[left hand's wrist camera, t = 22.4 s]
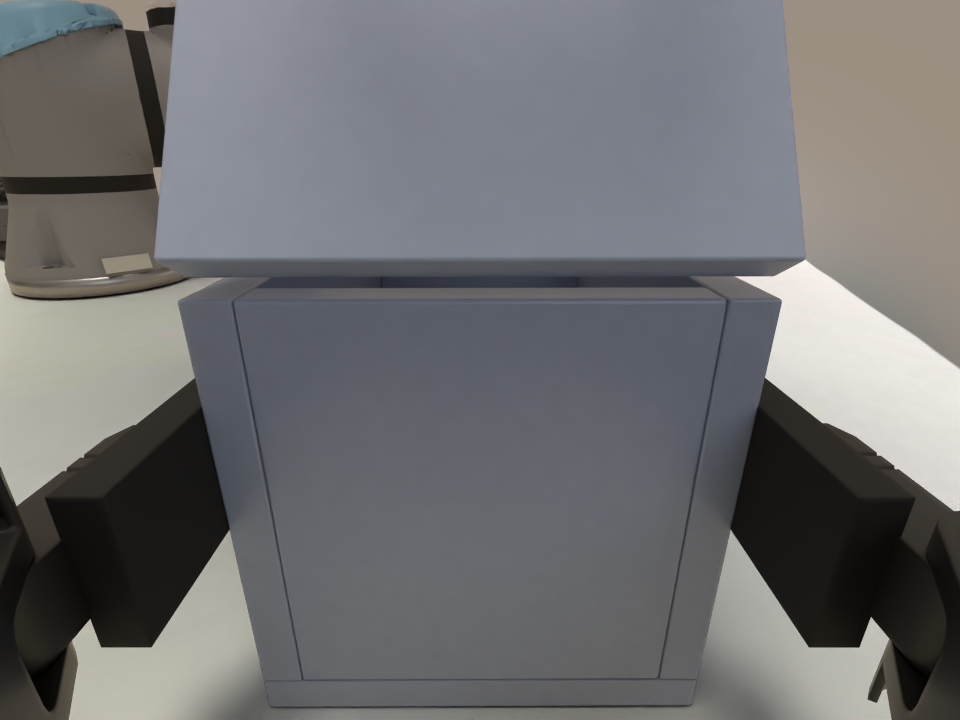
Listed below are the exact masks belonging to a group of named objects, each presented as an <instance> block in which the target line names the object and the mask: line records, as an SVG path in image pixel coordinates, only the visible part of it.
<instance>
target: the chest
mask: <svg viewBox="0 0 960 720" xmlns="http://www.w3.org/2000/svg"><path fill="white" fill-rule="evenodd" d="M781 303H782V301H781V299H779V298H777V297H775V296H773V295H771V294H769V293H767V292H765V291H763V290H761V289H759V288H757V287H755V286H753V285H751V284H749V283H747V282H745V281H742V280H740V279H738V278H736V277H734V276H611V277H225V278H223V279H221V280H219V281H217V282H215V283H213V284H211V285H209V286H207V287H205V288H203V289H201V290H199V291H197V292H195V293H193V294H191V295H189V296H187V297H185V298H183V299H181V300H179V302H178V305H179V309H180V314H181V318H182V323H183V327H184V331H185V336H186V340H187V345H188V349H189V353H190V358H191V362H192V366H193V371H194V375H195V380H196V384H197V388H198V393H199V397H200V402H201V406H202V410H203V415H204V419H205V424H206V428H207V432H208V437H209V441H210V445H211V450H212V454H213V459H214V463H215V467H216V472H217V476H218V481H219V485H220V489H221V494H222V498H223V503H224V507H225V511H226V516H227V520H228V525H229V529H230V533H231V538H232V542H233V546H234V551H235V555H236V560H237V564H238V568H239V573H240V577H241V582H242V586H243V590H244V595H245V599H246V604H247V608H248V612H249V617H250V621H251V625H252V630H253V634H254V639H255V643H256V647H257V652H258V656H259V661H260V665H261V669H262V674H263V678H264V680H265V681H264V682H265V687H266V691H267V696H268V700H269V705H270V706H271V707H330V706H579V705H691V704H692V699H693V695H694V690H695V686H696V682H697V679H696V678H697V677H698V672H699V668H700V664H701V659H702V655H703V650H704V646H705V641H706V637H707V632H708V628H709V624H710V619H711V615H712V610H713V606H714V601H715V597H716V592H717V588H718V584H719V579H720V575H721V570H722V566H723V561H724V557H725V552H726V548H727V544H728V539H729V535H730V530H731V525H732V521H733V516H734V512H735V507H736V503H737V499H738V494H739V490H740V485H741V481H742V476H743V472H744V468H745V463H746V459H747V454H748V450H749V445H750V441H751V437H752V432H753V428H754V423H755V419H756V414H757V410H758V406H759V401H760V397H761V392H762V388H763V383H764V379H765V375H766V370H767V366H768V361H769V357H770V352H771V348H772V343H773V339H774V334H775V330H776V326H777V321H778V317H779V312H780V308H781Z"/></svg>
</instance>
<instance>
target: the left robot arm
mask: <svg viewBox="0 0 960 720" xmlns="http://www.w3.org/2000/svg"><path fill="white" fill-rule="evenodd" d="M228 531H229V525H228V520H227V516H226V511H225V507H224V503H223V498H222V494H221V489H220V485H219V481H218V476H217V472H216V467H215V463H214V459H213V454H212V450H211V445H210V441H209V437H208V432H207V428H206V424H205V419H204V415H203V410H202V406H201V402H200V397H199V393H198V388H197V384H196V380H195V379H193V380H192V381H191V382H190V383H188V384H187V385H186V386H185V387H183V388H182V389H181V390H179V391H178V392H177V393H176V394H174V395H173V396H172V397H171V398H169V399H168V400H167V401H166V402H164V403H163V404H162V405H161V406H159V407H158V408H157V409H156V410H154V411H153V412H152V413H151V414H149V415H148V416H147V417H145V418H144V419H143V420H142V421H140V422H139V423H138V424H137V425H133V426H131V427H129V428H126V429H124V430H122V431H120V432H118V433H116V434H114V435H112V436H110V437H108V438H106V439H104V440H103V441H102V442H100V443H99V444H98V445H96V446H95V447H94V448H92V449H91V450H90V451H88V452H87V453H86V454H85V455H84V458H79V459H78V460H77V461H75V462H74V463H73V464H71V465H70V466H69V467H68V468H67V471H62V472H61V473H60V474H58V475H57V476H56V477H54V478H53V479H52V480H51V481H49V482H48V483H47V484H45V485H44V486H43V487H41V488H40V489H39V490H38V491H36V492H35V493H34V494H32V495H31V496H30V497H28V498H27V499H26V500H24V501H23V502H22V503H21V504H19V505H18V506H16V504H15V501H14V499H13V496H12V494H11V492H10V489H9V487H8V484H7V482H6V479H5V477H4V474H3V472H2V469H1V467H0V720H69V714H70V708H71V702H72V696H73V690H74V684H75V677H76V671H77V665H78V662H77V655H76V651H75V649H74V646H73V644H72V640H73V639H74V637H75V636H76V635H77V634H78V633H79V631H80V630H81V629H82V628H83V627H84V625H85V624H86V623H87V622H88V621H89V619H91V622H92V624H93V627H94V630H95V632H96V635H97V638H98V640H99V643H100V645H101V647H152V646H153V644H154V643H155V641H156V640H157V638H158V637H159V635H160V634H161V632H162V631H163V629H164V628H165V626H166V624H167V623H168V621H169V620H170V618H171V617H172V615H173V614H174V612H175V611H176V609H177V608H178V606H179V605H180V603H181V602H182V600H183V599H184V597H185V596H186V594H187V593H188V591H189V590H190V588H191V587H192V585H193V584H194V582H195V581H196V579H197V578H198V576H199V575H200V573H201V572H202V570H203V569H204V567H205V566H206V564H207V563H208V561H209V560H210V558H211V557H212V555H213V554H214V552H215V551H216V549H217V548H218V546H219V545H220V543H221V542H222V540H223V539H224V537H225V536H226V534H227V533H228ZM731 531H732V532H733V534H734V535H735V537H736V538H737V540H738V541H739V543H740V544H741V546H742V547H743V549H744V550H745V552H746V553H747V555H748V556H749V558H750V559H751V561H752V562H753V564H754V565H755V567H756V568H757V570H758V571H759V573H760V574H761V576H762V577H763V579H764V580H765V582H766V583H767V585H768V586H769V588H770V589H771V591H772V592H773V594H774V595H775V597H776V598H777V600H778V601H779V603H780V604H781V606H782V607H783V609H784V610H785V612H786V613H787V615H788V616H789V618H790V619H791V621H792V622H793V624H794V625H795V627H796V629H797V630H798V632H799V633H800V635H801V636H802V638H803V639H804V641H805V642H806V644H807V645H808V647H860V644H861V641H862V639H863V636H864V634H865V631H866V628H867V626H868V623H869V620H870V618H871V617H872V618H873V620H874V621H875V622H876V623H877V624H878V625H879V627H880V628H881V629H882V630H883V631H884V633H885V634H886V635H887V636H888V637H889V641H888V644H887V646H886V649H885V651H884V654H883V656H882V659H881V661H880V663H879V666H878V668H877V671H876V673H875V676H874V678H873V681H872V683H871V686H870V688H869V694H868V700H871V701H873V702H876V703H877V701H878V699H879V696H880V694H881V692H882V690H884V689H887V694H888V700H889V706H890V712H891V718H892V720H960V511H953V510H952V509H950V508H949V507H948V506H946V505H945V504H944V503H942V502H941V501H940V500H938V499H937V498H936V497H934V496H933V495H932V494H931V493H929V492H928V491H927V490H925V489H924V488H923V487H921V486H920V485H919V484H917V483H916V482H915V481H913V480H912V479H911V478H909V477H908V476H907V475H905V474H904V473H903V472H901V471H900V470H899V469H894V465H892V464H891V463H890V462H888V461H887V460H886V459H884V458H883V457H882V456H877V453H876V452H875V451H874V450H873V449H871V448H870V447H869V446H867V445H866V444H865V443H863V442H862V441H861V440H859V439H858V438H857V437H855V436H853V435H851V434H849V433H847V432H845V431H842V430H840V429H838V428H836V427H834V426H832V425H830V424H828V423H821V422H820V421H819V420H817V419H816V418H815V417H814V416H812V415H811V414H810V413H809V412H807V411H806V410H805V409H804V408H802V407H801V406H800V405H798V404H797V403H796V402H795V401H793V400H792V399H791V398H790V397H788V396H787V395H786V394H785V393H783V392H782V391H781V390H780V389H778V388H777V387H776V386H775V385H773V384H772V383H771V382H770V381H768V380H767V379H766V378H765V379H764V383H763V388H762V392H761V397H760V401H759V406H758V410H757V414H756V419H755V423H754V428H753V432H752V437H751V441H750V445H749V450H748V454H747V459H746V463H745V468H744V472H743V476H742V481H741V485H740V490H739V494H738V499H737V503H736V507H735V512H734V516H733V521H732V525H731Z"/></svg>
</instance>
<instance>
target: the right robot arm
mask: <svg viewBox="0 0 960 720" xmlns="http://www.w3.org/2000/svg"><path fill="white" fill-rule="evenodd" d="M175 7H176V0H151V2H150V3H149V4H148V5H147V6H146V8H145V10H146V14H147V19H148V24H149V31H133V30H124V29H123V24H122V21H121V20H120V19H119V18H118V16H117V14H116V13H115V12H114V11H113V10H112V9H110V8H108V7H105V6H102V5H98V4H91V3H80V2H77V1H68V0H14V1H3V2H0V177H1V180H2V184H3V187H4V190H5V193H6V196H7V200H8V205H9V212H8V226H7V241H6V252H5V251H2V250H0V257H2V258H4V259H5V272H6V273H5V275H6V278H7V281H8V284H9V287H10V289H11V292H12V293H14V294H17V295H20V296H25V297H35V298H73V297H88V296H100V295H109V294H117V293H124V292H131V291H137V290H143V289H148V288H153V287H158V286H162V285H166V284H170V283H173V282H176V281H179V280H182V279H185V278H187V277H184V276H182V275H180V274H179V273H177V272H175V271H173V270H171V269H169V268H167V267H165V266H163V265H161V264H159V263H157V262H156V261H155V259H154V253H155V241H156V230H157V218H158V206H159V195H158V192H157V188H156V183H155V179H154V174H153V168H154V167H162V159H163V148H164V136H165V124H166V113H167V101H168V89H169V77H170V66H171V54H172V42H173V31H174V19H175Z"/></svg>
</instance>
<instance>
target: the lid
mask: <svg viewBox="0 0 960 720" xmlns="http://www.w3.org/2000/svg"><path fill="white" fill-rule="evenodd" d="M805 257H806V253H805V242H804V232H803V221H802V210H801V199H800V188H799V177H798V166H797V155H796V144H795V133H794V122H793V111H792V100H791V89H790V78H789V67H788V56H787V45H786V34H785V23H784V12H783V1H782V0H176V7H175V19H174V31H173V42H172V54H171V66H170V77H169V89H168V101H167V113H166V124H165V136H164V148H163V159H162V171H161V183H160V194H159V206H158V218H157V230H156V241H155V253H154V259H155V261H156V262H157V263H159V264H161V265H163V266H165V267H167V268H169V269H171V270H173V271H175V272H177V273H179V274H180V275H182V276H184V277H611V276H775V275H777V274H779V273H781V272H783V271H785V270H787V269H789V268H791V267H792V266H794V265H796V264H798V263H800V262H802V261H804V260H805Z"/></svg>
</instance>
